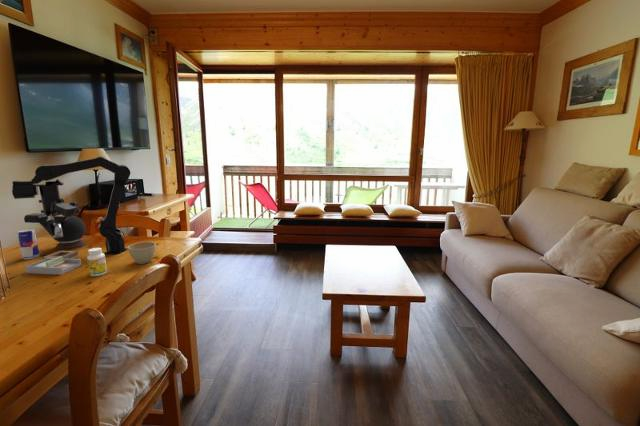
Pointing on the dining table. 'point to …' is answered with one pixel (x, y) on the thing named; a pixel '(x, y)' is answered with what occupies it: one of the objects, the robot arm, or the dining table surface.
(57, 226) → the peg
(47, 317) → the dining table surface
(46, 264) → the lid
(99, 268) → the supplement bottle
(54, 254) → the socket board
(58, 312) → the dining table surface
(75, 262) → the gray box
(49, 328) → the dining table surface
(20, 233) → the energy drink
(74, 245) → the dark ball on stand
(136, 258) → the light gray bowl
